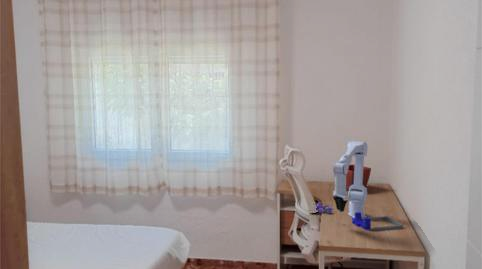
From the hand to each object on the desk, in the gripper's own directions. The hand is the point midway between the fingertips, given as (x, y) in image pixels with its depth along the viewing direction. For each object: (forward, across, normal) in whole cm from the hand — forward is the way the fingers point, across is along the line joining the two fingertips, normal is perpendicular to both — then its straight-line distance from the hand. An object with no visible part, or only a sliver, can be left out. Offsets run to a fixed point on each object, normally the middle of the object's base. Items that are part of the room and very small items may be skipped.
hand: (340, 210), depth 217 cm
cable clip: (+10, 0, +12) cm, 15 cm away
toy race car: (+10, -30, +1) cm, 32 cm away
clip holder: (+9, 0, +23) cm, 25 cm away
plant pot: (+10, -79, +44) cm, 91 cm away
